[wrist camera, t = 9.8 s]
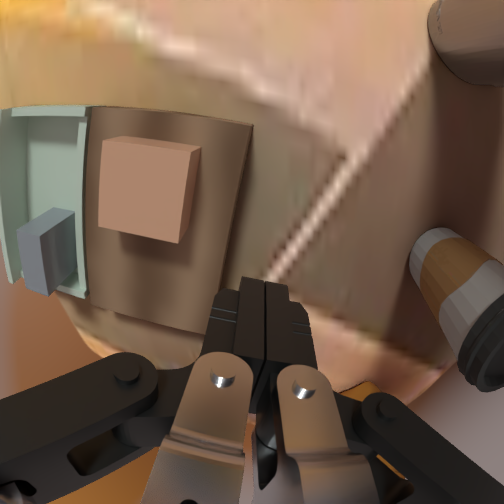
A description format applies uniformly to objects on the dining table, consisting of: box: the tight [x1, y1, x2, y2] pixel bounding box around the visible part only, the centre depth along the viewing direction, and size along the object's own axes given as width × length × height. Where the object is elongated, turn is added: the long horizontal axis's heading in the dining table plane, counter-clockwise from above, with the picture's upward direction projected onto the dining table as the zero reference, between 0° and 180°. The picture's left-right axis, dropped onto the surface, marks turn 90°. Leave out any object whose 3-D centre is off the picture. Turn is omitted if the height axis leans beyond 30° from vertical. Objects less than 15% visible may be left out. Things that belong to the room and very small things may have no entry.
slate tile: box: [16, 207, 78, 296], centre depth 24 cm, size 6×6×3 cm
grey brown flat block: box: [85, 106, 253, 335], centre depth 24 cm, size 12×18×4 cm, turn 168°
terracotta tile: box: [98, 136, 201, 244], centre depth 19 cm, size 6×6×3 cm
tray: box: [0, 105, 106, 299], centre depth 23 cm, size 10×18×5 cm, turn 168°
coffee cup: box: [409, 228, 504, 392], centre depth 20 cm, size 8×8×15 cm
